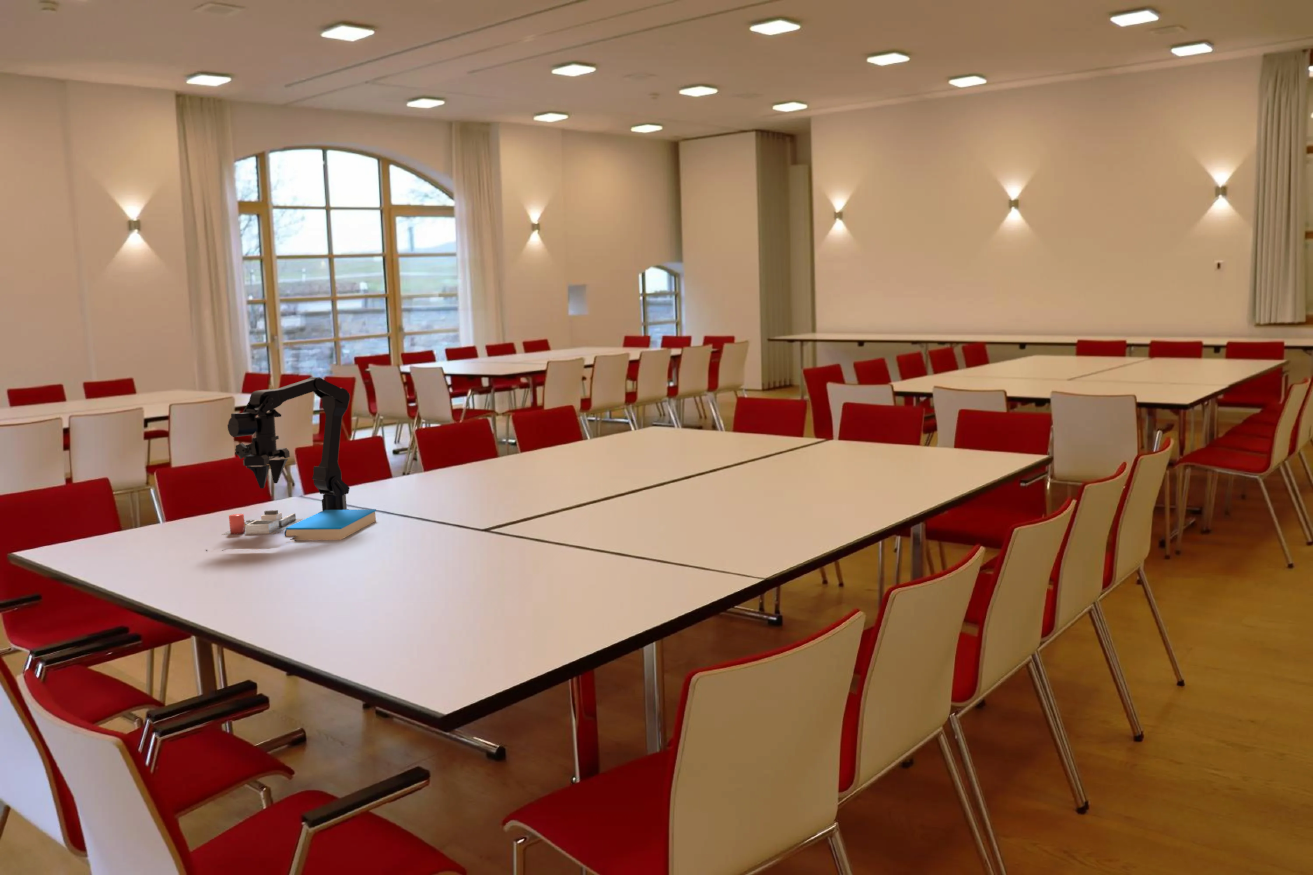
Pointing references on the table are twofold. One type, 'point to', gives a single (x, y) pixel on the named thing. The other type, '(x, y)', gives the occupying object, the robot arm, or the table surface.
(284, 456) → the robot arm
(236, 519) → the cap
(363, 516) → the book
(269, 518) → the breaker
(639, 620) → the table surface
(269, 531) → the panel
